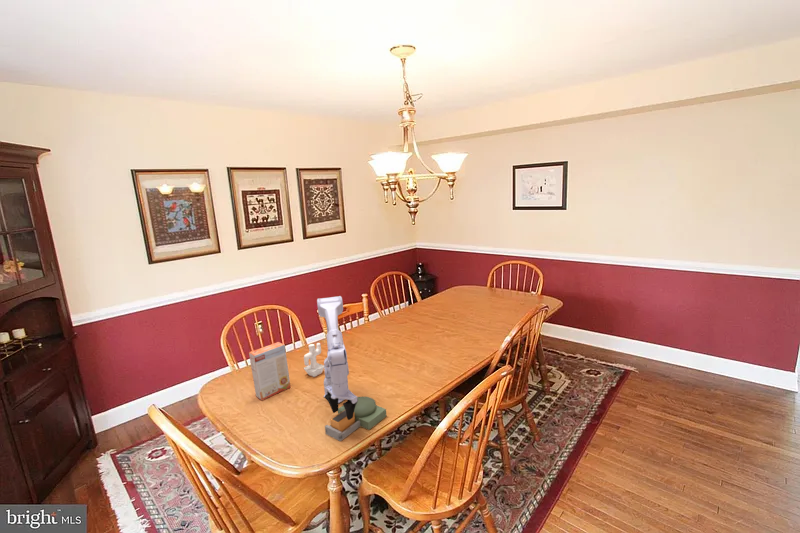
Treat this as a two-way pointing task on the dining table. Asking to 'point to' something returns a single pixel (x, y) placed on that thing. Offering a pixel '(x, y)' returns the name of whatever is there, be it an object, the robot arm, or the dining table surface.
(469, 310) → the dining table surface
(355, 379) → the dining table surface
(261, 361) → the cracker box
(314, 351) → the figurine
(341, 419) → the orange-framed grey panel
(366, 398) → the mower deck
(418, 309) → the dining table surface
